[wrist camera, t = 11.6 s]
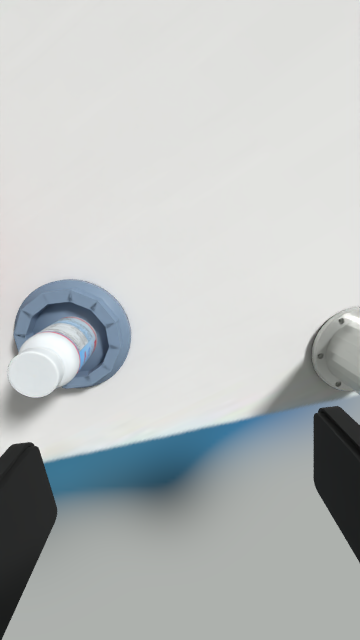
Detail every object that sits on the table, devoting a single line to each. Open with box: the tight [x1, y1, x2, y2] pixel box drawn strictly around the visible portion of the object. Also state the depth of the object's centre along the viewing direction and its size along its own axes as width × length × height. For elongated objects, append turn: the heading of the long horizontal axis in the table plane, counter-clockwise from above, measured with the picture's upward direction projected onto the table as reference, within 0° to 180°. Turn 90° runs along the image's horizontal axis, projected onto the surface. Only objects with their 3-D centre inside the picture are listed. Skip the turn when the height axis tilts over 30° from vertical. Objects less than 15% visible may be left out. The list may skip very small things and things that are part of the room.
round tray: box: [14, 279, 131, 389], centre depth 34 cm, size 15×15×3 cm
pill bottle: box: [8, 316, 97, 398], centre depth 29 cm, size 6×6×11 cm
